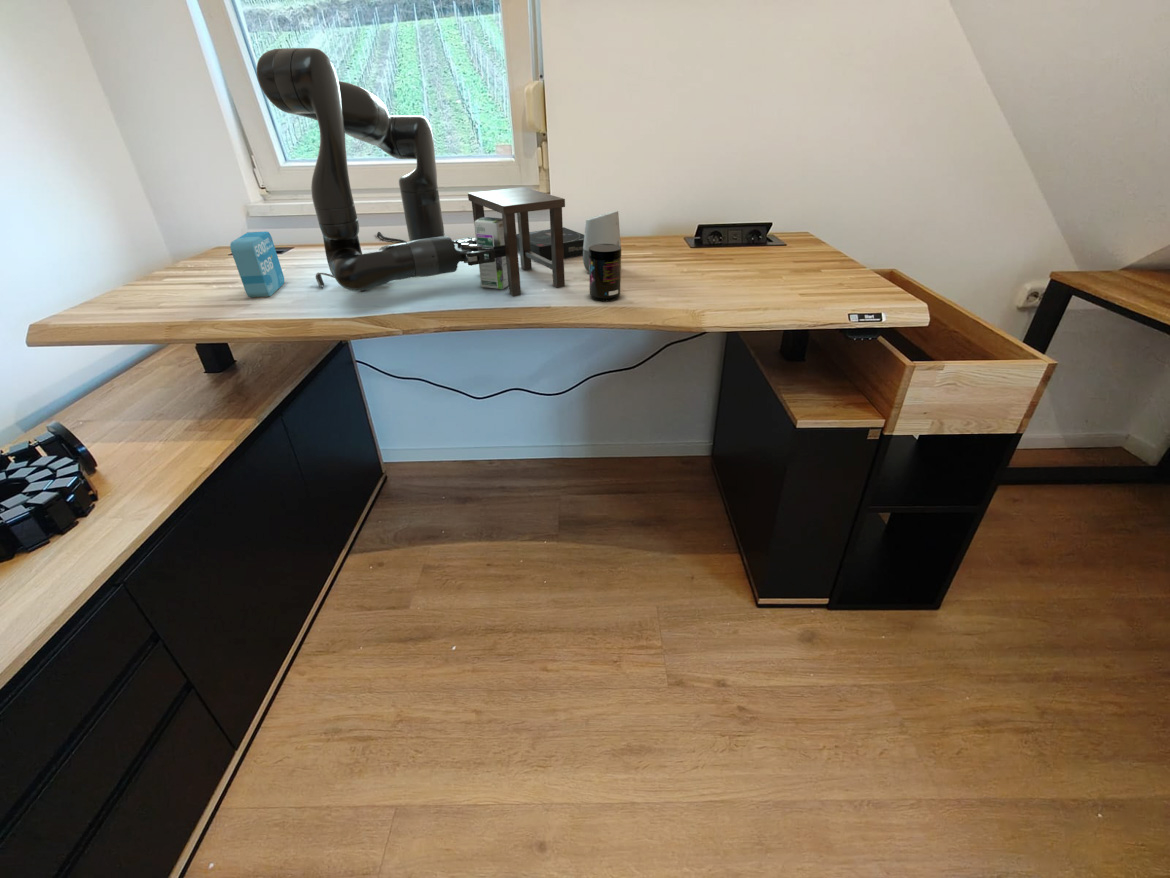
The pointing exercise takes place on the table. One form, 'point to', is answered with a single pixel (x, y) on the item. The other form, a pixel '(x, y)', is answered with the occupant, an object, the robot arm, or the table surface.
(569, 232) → the black flat box
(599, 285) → the supplement container
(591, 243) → the smart speaker
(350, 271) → the robot arm
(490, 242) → the syrup box
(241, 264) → the data package
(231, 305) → the table surface
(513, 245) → the side table
